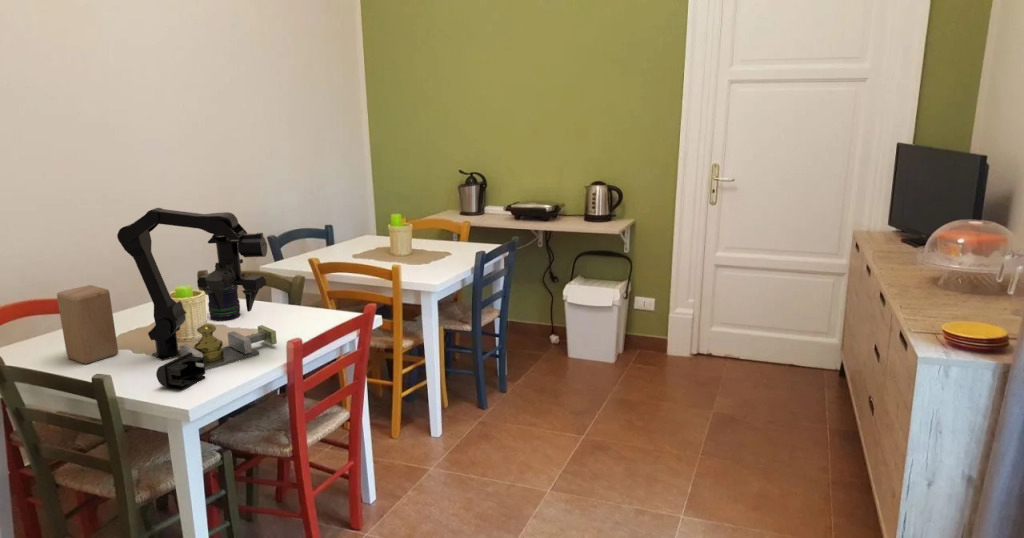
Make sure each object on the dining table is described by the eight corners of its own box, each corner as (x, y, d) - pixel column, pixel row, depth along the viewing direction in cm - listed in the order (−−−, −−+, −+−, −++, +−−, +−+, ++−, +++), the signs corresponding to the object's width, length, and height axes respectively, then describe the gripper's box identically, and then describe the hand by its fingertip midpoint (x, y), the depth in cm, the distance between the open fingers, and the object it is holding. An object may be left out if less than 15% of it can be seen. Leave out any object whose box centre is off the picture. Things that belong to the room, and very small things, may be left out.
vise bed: (180, 362, 195) (178, 345, 194) (241, 345, 208) (239, 330, 207) (198, 372, 188) (196, 355, 187) (259, 354, 201) (258, 338, 200)
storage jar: (207, 322, 229) (202, 279, 225) (212, 313, 238) (207, 271, 235) (238, 320, 231) (234, 277, 228) (242, 311, 241) (238, 270, 237)
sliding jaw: (228, 345, 204) (227, 332, 203) (261, 336, 212) (260, 324, 211) (245, 353, 198) (243, 340, 197) (278, 344, 206) (277, 331, 205)
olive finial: (209, 364, 191) (205, 330, 188) (189, 360, 194) (185, 326, 191) (229, 355, 197) (226, 322, 195) (210, 351, 200) (207, 319, 198)
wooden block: (120, 354, 201) (110, 288, 196) (85, 365, 193) (74, 297, 188) (100, 348, 206) (90, 283, 201) (65, 358, 198) (54, 292, 193)
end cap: (185, 374, 187) (182, 351, 185) (207, 377, 185) (204, 353, 183) (157, 389, 178) (154, 364, 176) (180, 392, 176) (177, 367, 174)
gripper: (180, 263, 189) (188, 317, 193) (241, 265, 185) (247, 321, 189) (206, 254, 199) (213, 305, 203) (264, 256, 195) (270, 308, 199)
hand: (235, 310), depth 198 cm, fingers open, 9 cm apart
